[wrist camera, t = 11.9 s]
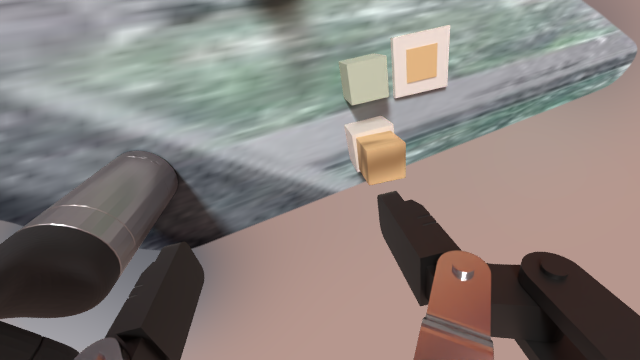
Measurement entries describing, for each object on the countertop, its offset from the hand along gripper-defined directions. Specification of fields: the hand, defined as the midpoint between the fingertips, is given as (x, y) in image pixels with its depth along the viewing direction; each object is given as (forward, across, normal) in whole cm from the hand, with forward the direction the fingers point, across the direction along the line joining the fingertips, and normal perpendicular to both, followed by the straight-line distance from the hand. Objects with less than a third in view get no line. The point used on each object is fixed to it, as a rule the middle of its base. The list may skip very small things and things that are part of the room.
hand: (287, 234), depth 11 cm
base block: (+30, -11, +9) cm, 34 cm away
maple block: (+25, -11, +10) cm, 29 cm away
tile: (+30, -20, 0) cm, 36 cm away
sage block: (+30, -11, 0) cm, 32 cm away
